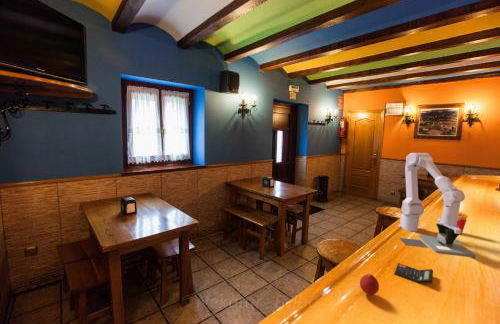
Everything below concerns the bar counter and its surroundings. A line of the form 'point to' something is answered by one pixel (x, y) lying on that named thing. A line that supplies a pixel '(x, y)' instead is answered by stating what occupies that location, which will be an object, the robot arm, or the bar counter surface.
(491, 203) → the bar counter surface
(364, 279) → the onion
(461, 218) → the french fries
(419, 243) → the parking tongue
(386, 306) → the bar counter surface
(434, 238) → the hole plate
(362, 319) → the bar counter surface
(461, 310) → the bar counter surface
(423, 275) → the calculator
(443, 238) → the tan cubic block
